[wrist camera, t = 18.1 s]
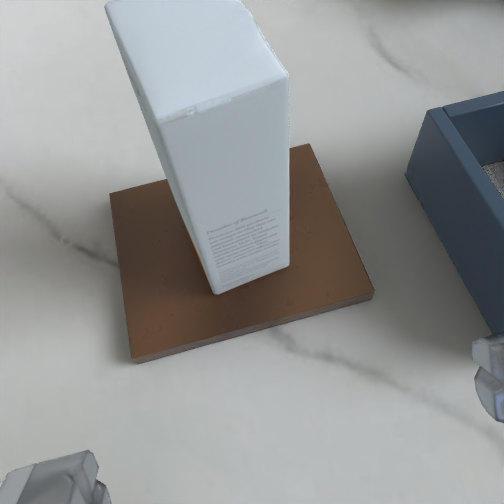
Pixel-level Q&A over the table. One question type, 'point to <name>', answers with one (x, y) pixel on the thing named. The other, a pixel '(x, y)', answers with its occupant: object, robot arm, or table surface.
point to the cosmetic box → (214, 127)
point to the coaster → (239, 298)
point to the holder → (465, 193)
